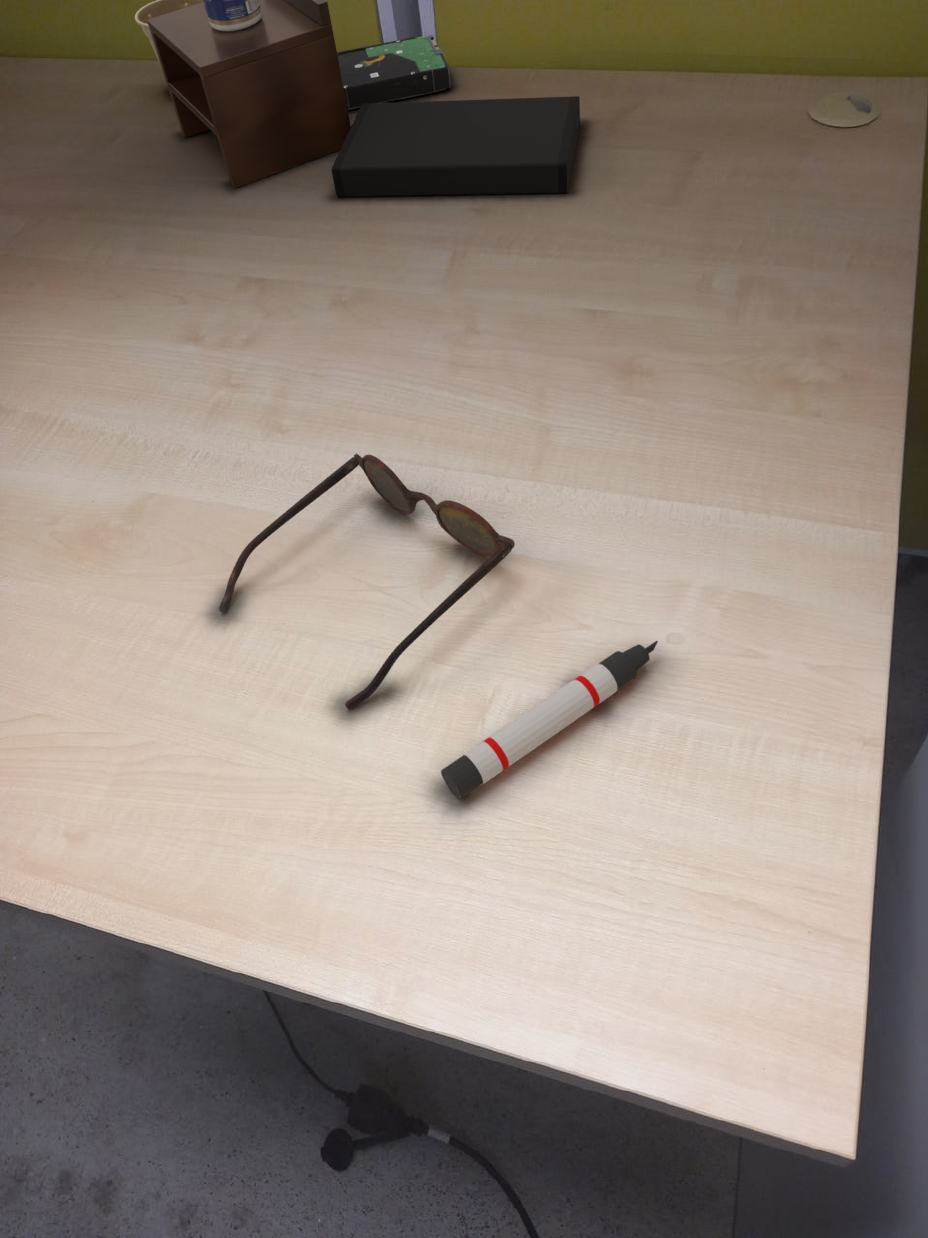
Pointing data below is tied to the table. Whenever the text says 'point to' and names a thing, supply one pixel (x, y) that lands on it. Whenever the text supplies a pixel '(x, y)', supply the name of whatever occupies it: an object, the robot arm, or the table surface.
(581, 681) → the marker
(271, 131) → the rack
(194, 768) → the table surface
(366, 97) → the disk drive
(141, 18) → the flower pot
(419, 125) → the external hard drive
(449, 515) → the eyeglasses
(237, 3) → the pill bottle
